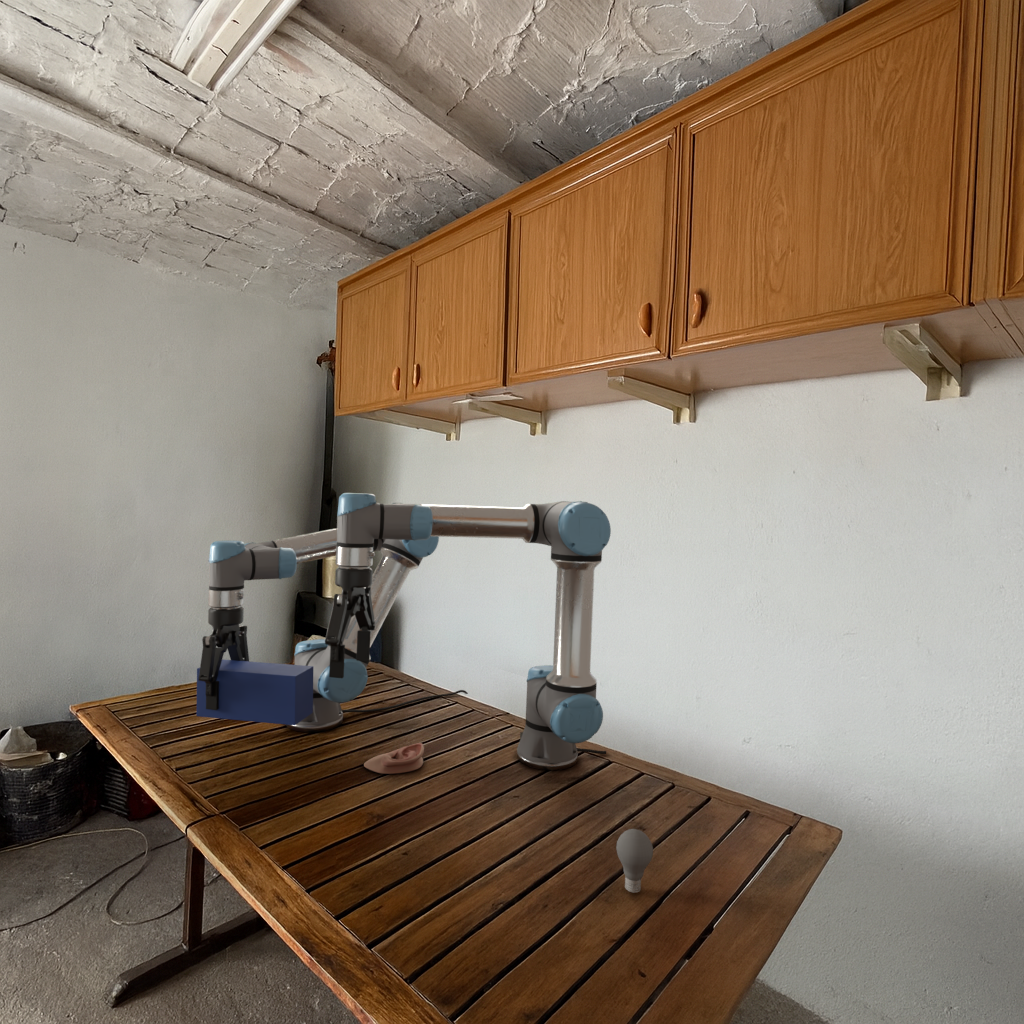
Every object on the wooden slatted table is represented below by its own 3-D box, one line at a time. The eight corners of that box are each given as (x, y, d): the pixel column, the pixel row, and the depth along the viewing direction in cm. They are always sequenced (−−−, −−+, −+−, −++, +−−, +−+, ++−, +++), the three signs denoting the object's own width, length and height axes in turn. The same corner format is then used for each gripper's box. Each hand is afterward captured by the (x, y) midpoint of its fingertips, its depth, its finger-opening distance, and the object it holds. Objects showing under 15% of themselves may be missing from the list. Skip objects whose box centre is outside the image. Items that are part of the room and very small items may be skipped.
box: (196, 716, 145) (196, 668, 145) (219, 704, 154) (219, 659, 153) (294, 725, 141) (295, 676, 141) (312, 712, 150) (313, 666, 149)
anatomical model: (358, 753, 147) (378, 735, 158) (357, 770, 147) (378, 751, 158) (412, 760, 144) (429, 742, 155) (412, 778, 144) (428, 758, 155)
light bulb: (610, 879, 108) (613, 822, 108) (644, 879, 109) (647, 822, 109) (619, 902, 102) (622, 840, 102) (655, 901, 103) (658, 840, 103)
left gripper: (211, 616, 137) (210, 719, 138) (266, 600, 158) (264, 690, 159) (180, 614, 138) (179, 716, 139) (238, 598, 159) (237, 687, 160)
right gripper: (346, 574, 119) (342, 687, 119) (391, 562, 143) (388, 655, 144) (309, 572, 120) (305, 683, 120) (360, 560, 145) (356, 653, 145)
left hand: (224, 702), depth 149 cm, fingers closed on box, 8 cm apart
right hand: (350, 668), depth 132 cm, fingers open, 13 cm apart
